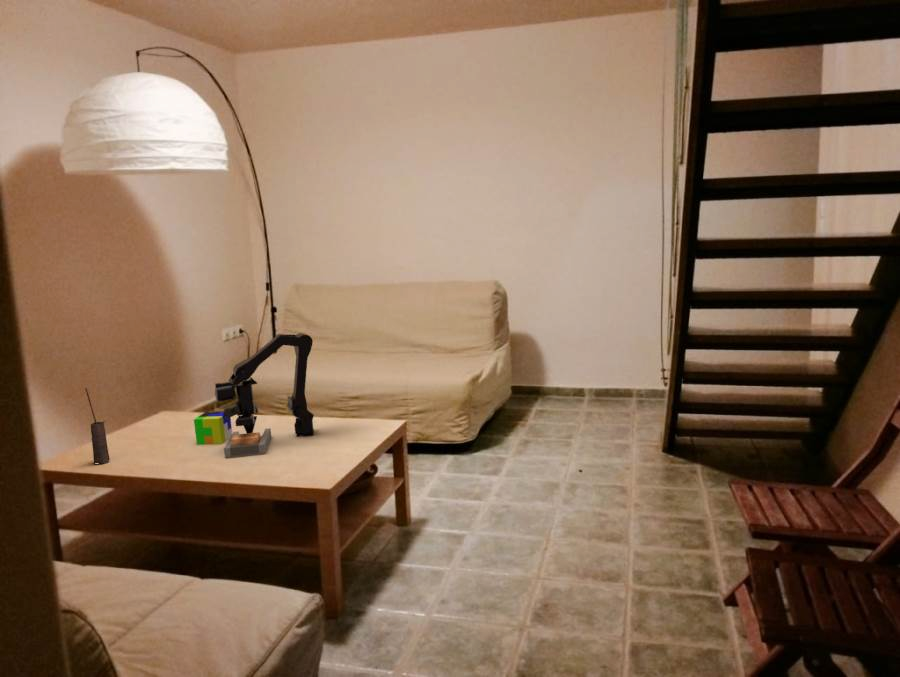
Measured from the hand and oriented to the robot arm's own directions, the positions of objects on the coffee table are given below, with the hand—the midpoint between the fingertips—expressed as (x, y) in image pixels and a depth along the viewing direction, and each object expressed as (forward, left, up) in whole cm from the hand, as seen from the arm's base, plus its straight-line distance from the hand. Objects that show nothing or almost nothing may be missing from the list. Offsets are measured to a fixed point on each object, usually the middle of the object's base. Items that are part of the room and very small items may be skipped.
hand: (250, 437), depth 260 cm
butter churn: (+51, +3, -3) cm, 51 cm away
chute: (0, +3, -3) cm, 4 cm away
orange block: (0, +8, -3) cm, 8 cm away
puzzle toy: (+15, -11, -3) cm, 19 cm away
